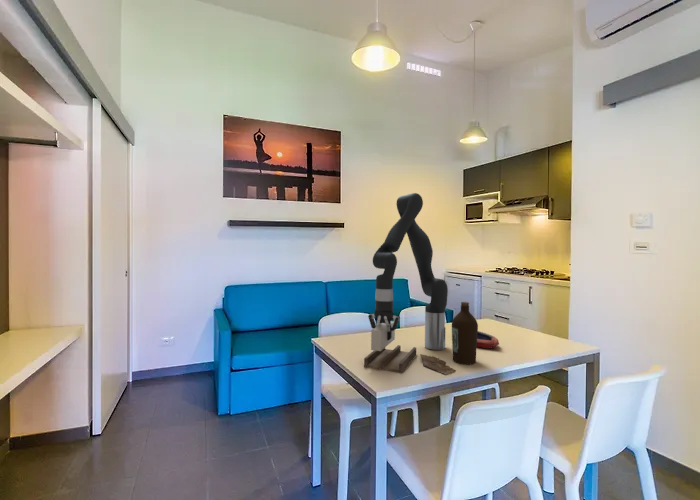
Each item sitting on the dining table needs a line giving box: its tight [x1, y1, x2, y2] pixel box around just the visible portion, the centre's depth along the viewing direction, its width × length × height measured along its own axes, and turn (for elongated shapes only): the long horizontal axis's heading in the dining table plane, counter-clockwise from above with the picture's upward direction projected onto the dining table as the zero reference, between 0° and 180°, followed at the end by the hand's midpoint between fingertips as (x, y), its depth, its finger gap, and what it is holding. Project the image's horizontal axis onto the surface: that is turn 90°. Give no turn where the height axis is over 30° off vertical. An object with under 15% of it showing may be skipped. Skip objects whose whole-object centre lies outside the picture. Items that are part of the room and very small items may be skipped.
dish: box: [477, 330, 500, 349], centre depth 180 cm, size 16×31×5 cm, turn 17°
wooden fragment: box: [419, 353, 457, 376], centre depth 147 cm, size 26×11×1 cm, turn 8°
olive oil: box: [451, 301, 479, 365], centre depth 150 cm, size 11×11×25 cm
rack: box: [363, 345, 417, 374], centre depth 150 cm, size 16×24×4 cm, turn 157°
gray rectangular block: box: [370, 320, 396, 351], centre depth 151 cm, size 4×20×8 cm, turn 156°
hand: (383, 339), depth 151 cm, fingers closed on gray rectangular block, 4 cm apart
